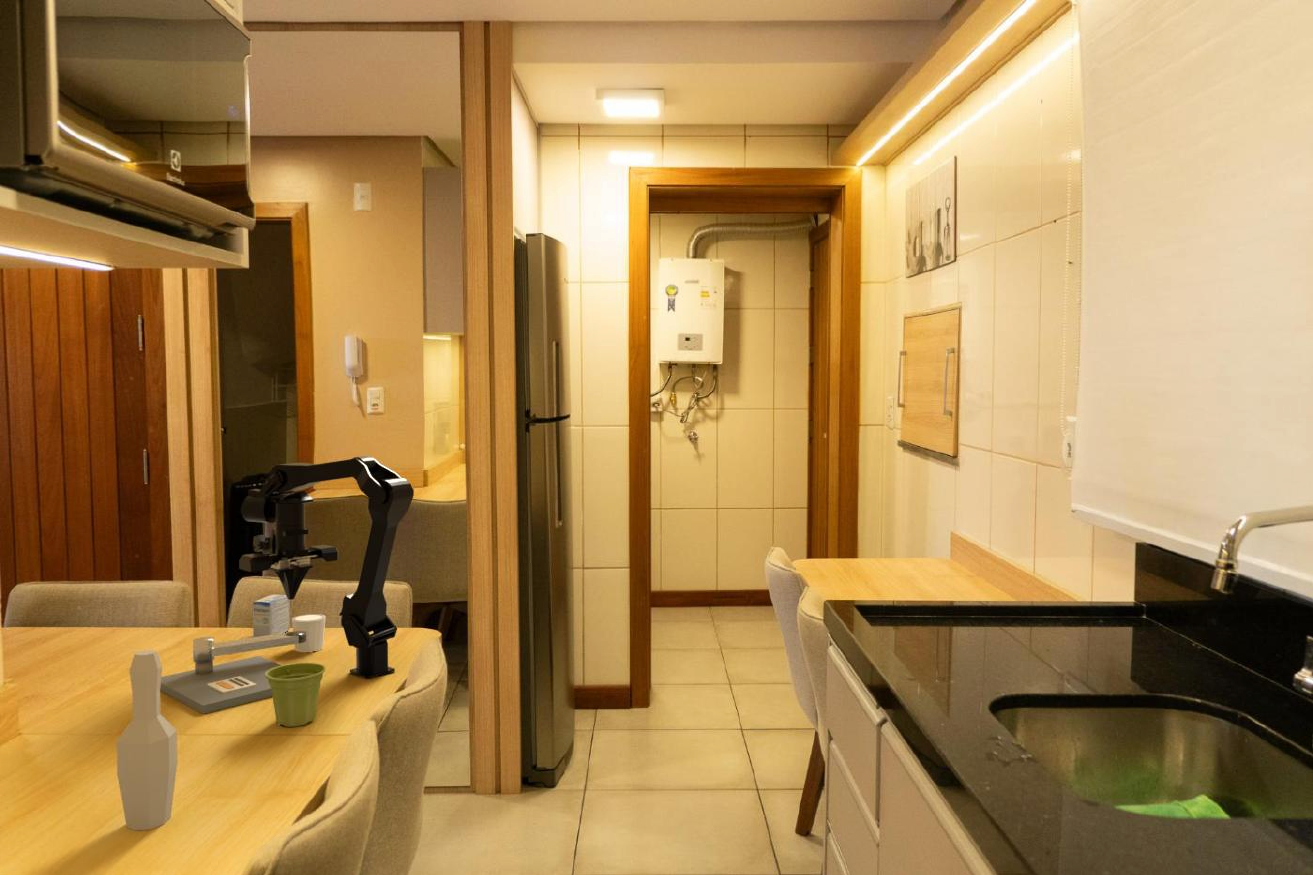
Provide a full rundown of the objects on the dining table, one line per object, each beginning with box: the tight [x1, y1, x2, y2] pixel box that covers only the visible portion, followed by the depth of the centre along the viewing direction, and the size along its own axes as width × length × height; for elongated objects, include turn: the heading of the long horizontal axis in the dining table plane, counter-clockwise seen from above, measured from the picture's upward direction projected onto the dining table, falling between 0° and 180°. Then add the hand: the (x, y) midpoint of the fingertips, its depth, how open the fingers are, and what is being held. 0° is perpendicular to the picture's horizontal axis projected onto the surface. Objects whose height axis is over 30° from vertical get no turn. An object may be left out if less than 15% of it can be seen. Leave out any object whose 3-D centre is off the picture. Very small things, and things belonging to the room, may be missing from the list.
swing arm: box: [192, 631, 306, 663], centre depth 175 cm, size 21×4×4 cm, turn 127°
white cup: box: [291, 613, 326, 653], centre depth 191 cm, size 7×7×7 cm
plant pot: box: [265, 662, 327, 728], centre depth 148 cm, size 9×9×9 cm
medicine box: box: [252, 594, 291, 638], centre depth 202 cm, size 8×4×9 cm, turn 172°
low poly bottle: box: [116, 649, 178, 831], centre depth 112 cm, size 6×6×22 cm
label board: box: [160, 655, 282, 715], centre depth 166 cm, size 22×20×4 cm
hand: (290, 599), depth 182 cm, fingers closed
